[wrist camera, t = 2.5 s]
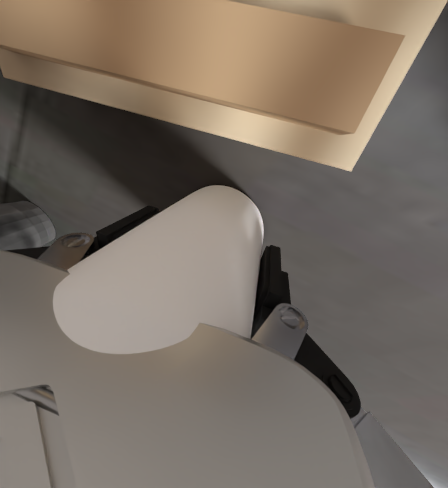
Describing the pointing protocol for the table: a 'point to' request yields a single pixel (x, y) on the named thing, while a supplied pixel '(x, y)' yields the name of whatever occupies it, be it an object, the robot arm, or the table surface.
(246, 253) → the can
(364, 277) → the table surface
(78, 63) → the plinth
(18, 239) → the beverage cup
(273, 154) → the table surface
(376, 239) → the table surface
